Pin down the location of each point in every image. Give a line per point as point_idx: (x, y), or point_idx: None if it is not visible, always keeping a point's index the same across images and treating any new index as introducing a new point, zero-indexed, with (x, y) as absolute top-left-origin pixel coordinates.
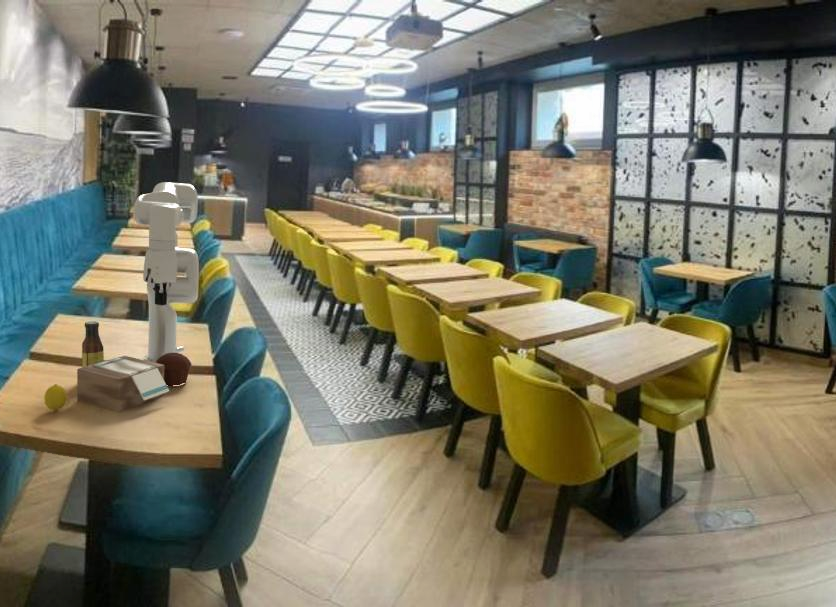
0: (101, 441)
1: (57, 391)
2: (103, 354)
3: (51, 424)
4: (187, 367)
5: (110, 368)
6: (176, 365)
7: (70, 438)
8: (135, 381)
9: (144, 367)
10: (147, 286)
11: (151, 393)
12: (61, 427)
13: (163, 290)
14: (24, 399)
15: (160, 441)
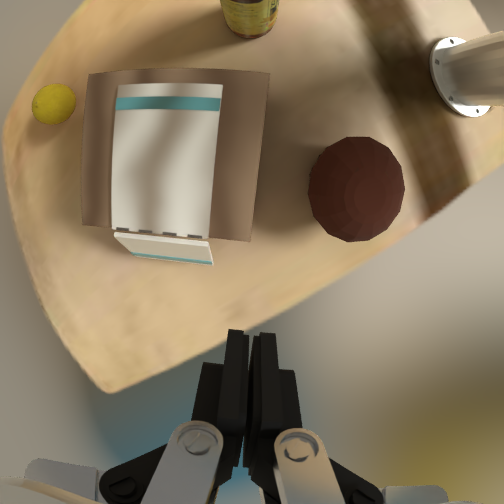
0: (37, 266)
1: (36, 118)
2: (265, 6)
3: (33, 153)
4: (347, 241)
5: (118, 148)
6: (327, 224)
7: (21, 222)
8: (120, 241)
9: (180, 220)
10: (35, 464)
11: (157, 257)
12: (33, 177)
13: (252, 476)
14: (95, 14)
15: (83, 333)
